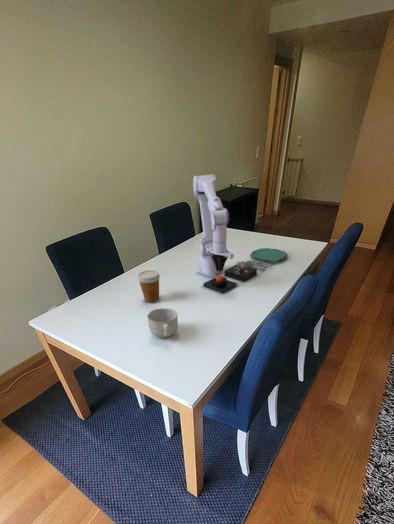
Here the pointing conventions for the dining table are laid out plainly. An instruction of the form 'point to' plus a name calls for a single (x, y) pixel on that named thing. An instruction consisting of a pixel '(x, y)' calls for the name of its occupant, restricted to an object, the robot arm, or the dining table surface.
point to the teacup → (163, 322)
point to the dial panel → (240, 273)
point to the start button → (219, 278)
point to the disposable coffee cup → (149, 285)
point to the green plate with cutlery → (266, 257)
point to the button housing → (219, 285)
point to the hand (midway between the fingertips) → (219, 270)
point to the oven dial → (241, 266)
